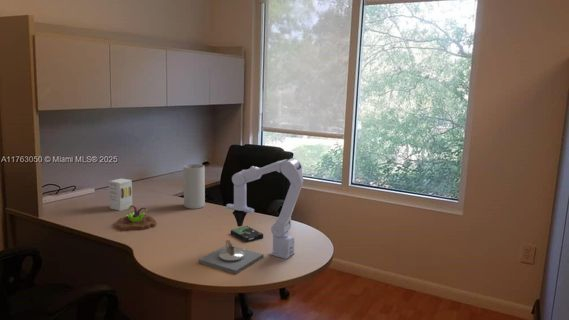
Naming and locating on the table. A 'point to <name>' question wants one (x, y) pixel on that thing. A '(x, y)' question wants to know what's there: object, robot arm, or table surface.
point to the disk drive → (246, 234)
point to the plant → (135, 221)
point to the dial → (231, 253)
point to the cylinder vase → (194, 186)
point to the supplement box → (120, 194)
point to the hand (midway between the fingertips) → (239, 225)
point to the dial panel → (233, 266)
